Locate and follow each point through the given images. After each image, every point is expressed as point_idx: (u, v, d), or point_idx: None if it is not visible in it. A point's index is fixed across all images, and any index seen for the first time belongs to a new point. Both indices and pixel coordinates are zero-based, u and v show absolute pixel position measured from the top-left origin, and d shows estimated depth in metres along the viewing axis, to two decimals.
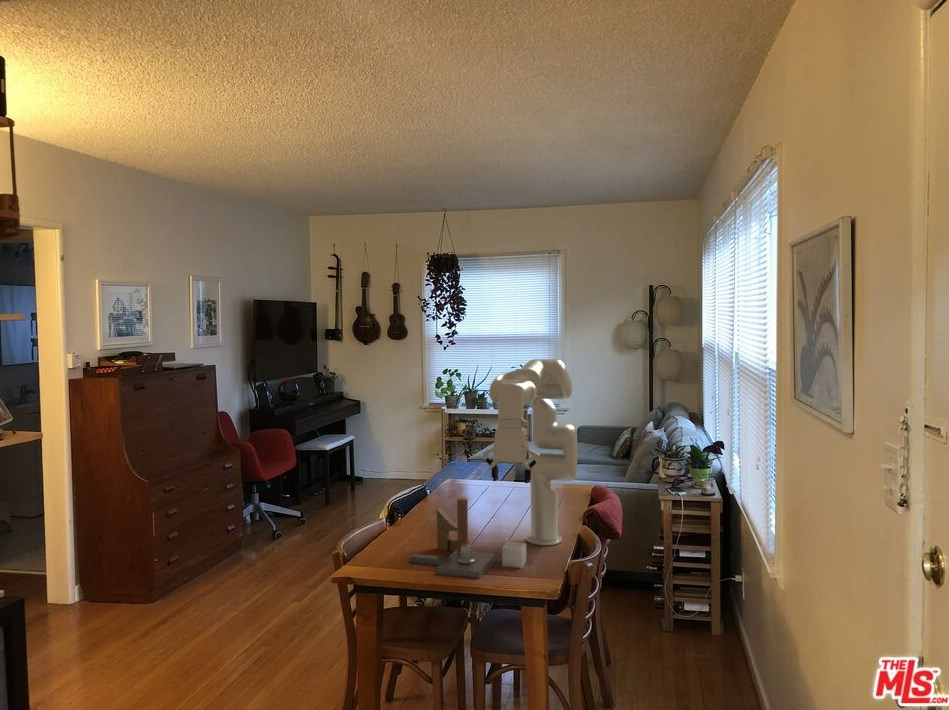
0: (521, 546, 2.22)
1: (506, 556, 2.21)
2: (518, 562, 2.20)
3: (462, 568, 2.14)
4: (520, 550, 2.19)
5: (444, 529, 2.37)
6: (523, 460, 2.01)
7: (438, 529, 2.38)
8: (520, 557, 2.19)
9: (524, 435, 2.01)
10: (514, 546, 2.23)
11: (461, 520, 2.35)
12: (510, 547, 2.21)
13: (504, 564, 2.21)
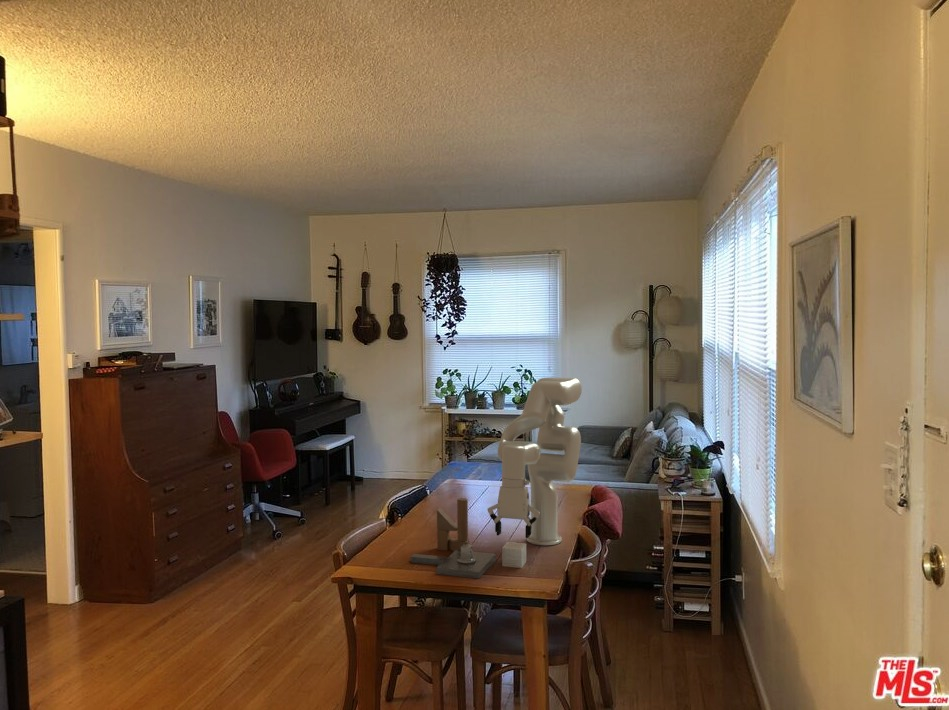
0: (521, 546, 2.22)
1: (506, 556, 2.21)
2: (518, 562, 2.20)
3: (462, 568, 2.14)
4: (520, 550, 2.19)
5: (444, 529, 2.37)
6: (524, 517, 2.19)
7: (438, 529, 2.38)
8: (520, 557, 2.19)
9: (525, 494, 2.20)
10: (514, 546, 2.23)
11: (461, 520, 2.35)
12: (510, 547, 2.21)
13: (504, 564, 2.21)
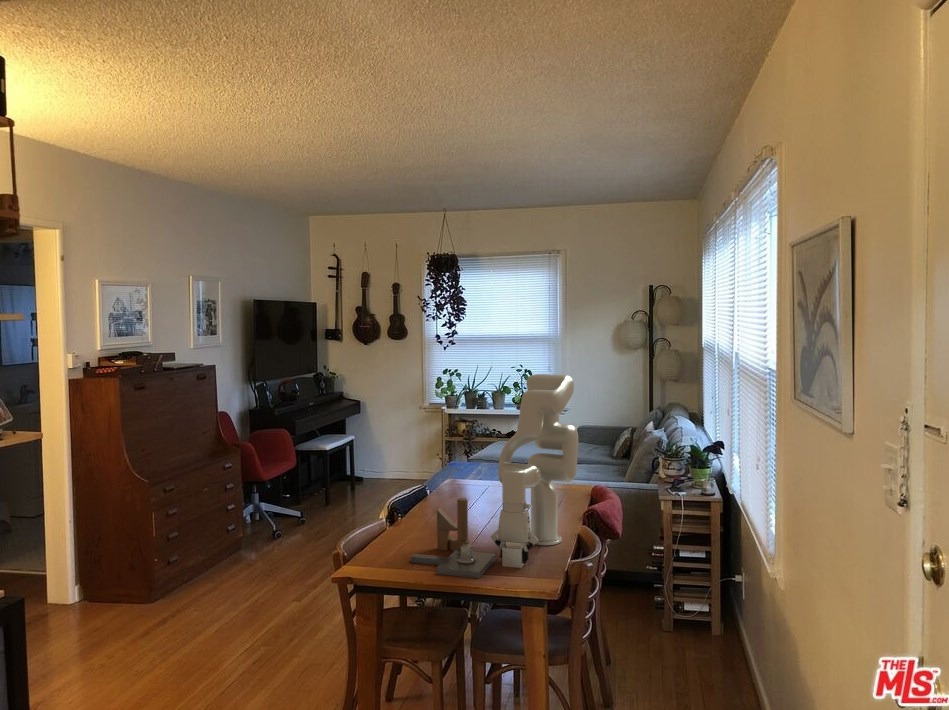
0: (521, 546, 2.22)
1: (506, 556, 2.21)
2: (518, 562, 2.20)
3: (462, 568, 2.14)
4: (520, 550, 2.19)
5: (444, 529, 2.37)
6: (525, 541, 2.20)
7: (438, 529, 2.38)
8: (520, 557, 2.19)
9: (526, 518, 2.20)
10: (514, 546, 2.23)
11: (461, 520, 2.35)
12: (510, 547, 2.21)
13: (504, 564, 2.21)
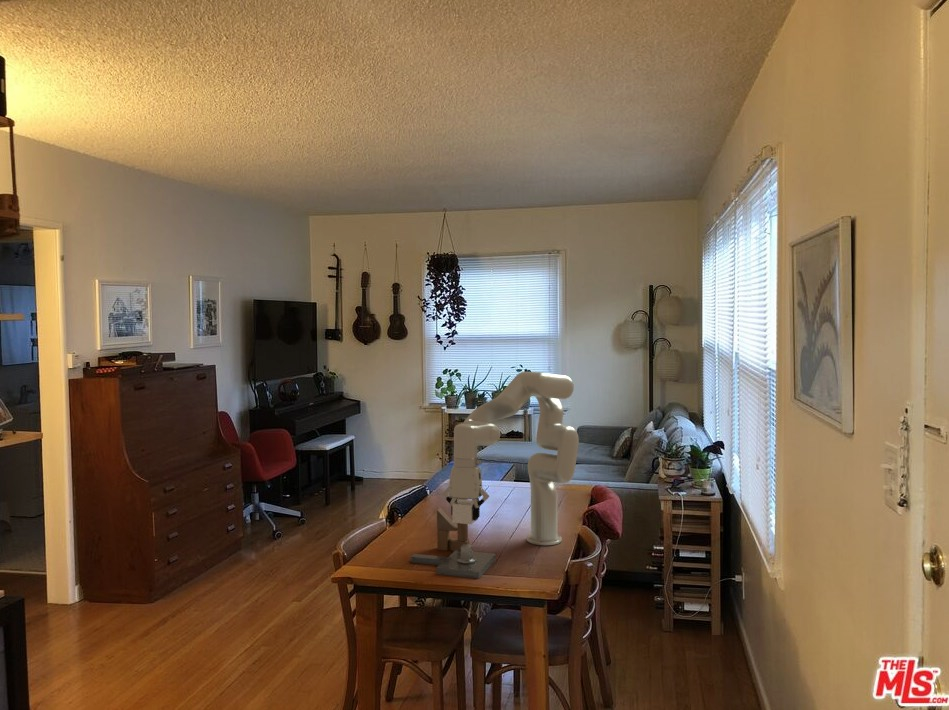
0: (472, 503, 2.19)
1: (457, 512, 2.17)
2: (468, 518, 2.16)
3: (462, 568, 2.14)
4: (470, 506, 2.16)
5: (444, 529, 2.37)
6: (476, 497, 2.17)
7: (438, 529, 2.38)
8: (470, 513, 2.16)
9: (477, 474, 2.17)
10: (465, 502, 2.19)
11: None
12: (460, 503, 2.18)
13: (454, 520, 2.18)
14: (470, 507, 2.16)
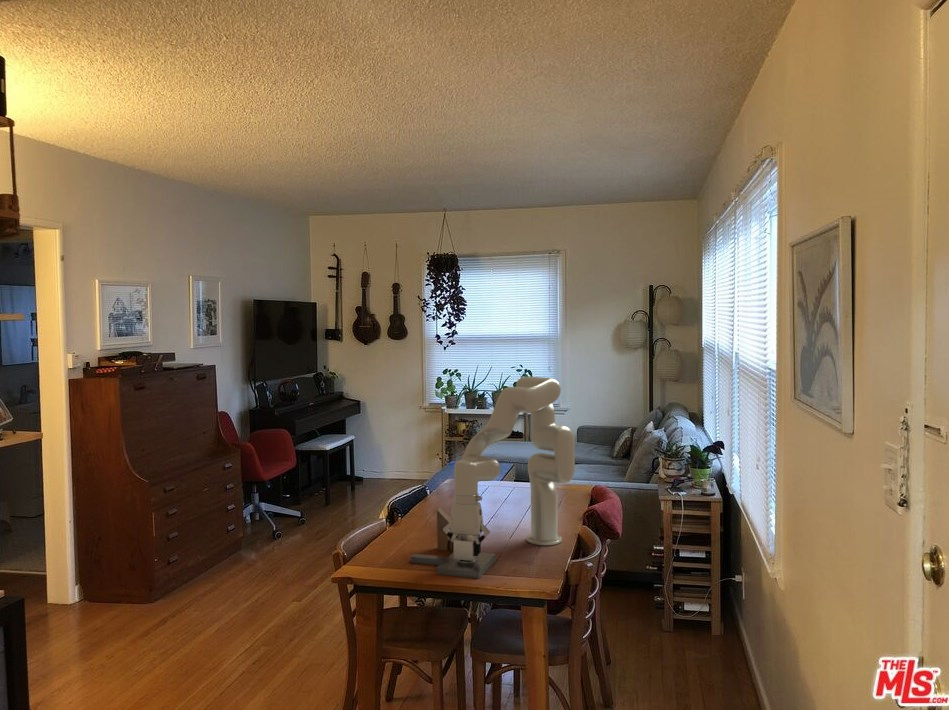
0: (473, 539, 2.20)
1: (458, 548, 2.18)
2: (469, 555, 2.17)
3: (462, 568, 2.14)
4: (471, 543, 2.17)
5: None
6: (477, 533, 2.17)
7: (438, 529, 2.38)
8: (471, 550, 2.17)
9: (478, 510, 2.18)
10: (466, 538, 2.20)
11: None
12: (461, 540, 2.19)
13: (455, 557, 2.18)
14: (471, 544, 2.17)
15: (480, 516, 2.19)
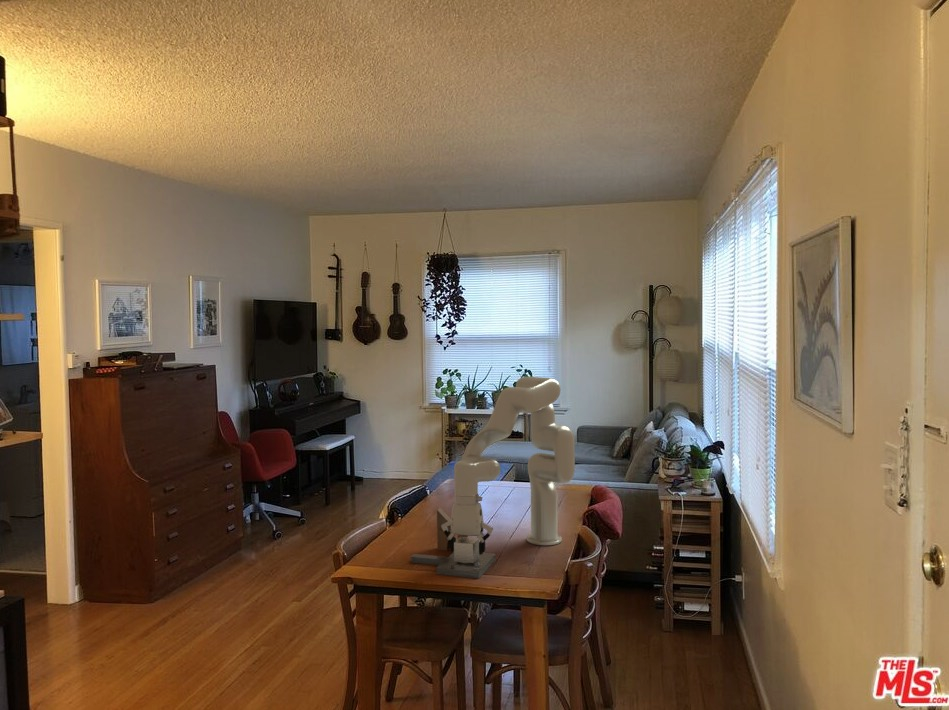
0: (473, 541, 2.20)
1: (458, 551, 2.18)
2: (470, 557, 2.17)
3: (462, 568, 2.14)
4: (472, 545, 2.17)
5: None
6: (477, 534, 2.18)
7: (438, 529, 2.38)
8: (472, 552, 2.17)
9: (478, 510, 2.18)
10: (466, 540, 2.20)
11: None
12: (462, 542, 2.19)
13: (456, 559, 2.19)
14: (471, 546, 2.17)
15: (480, 516, 2.19)
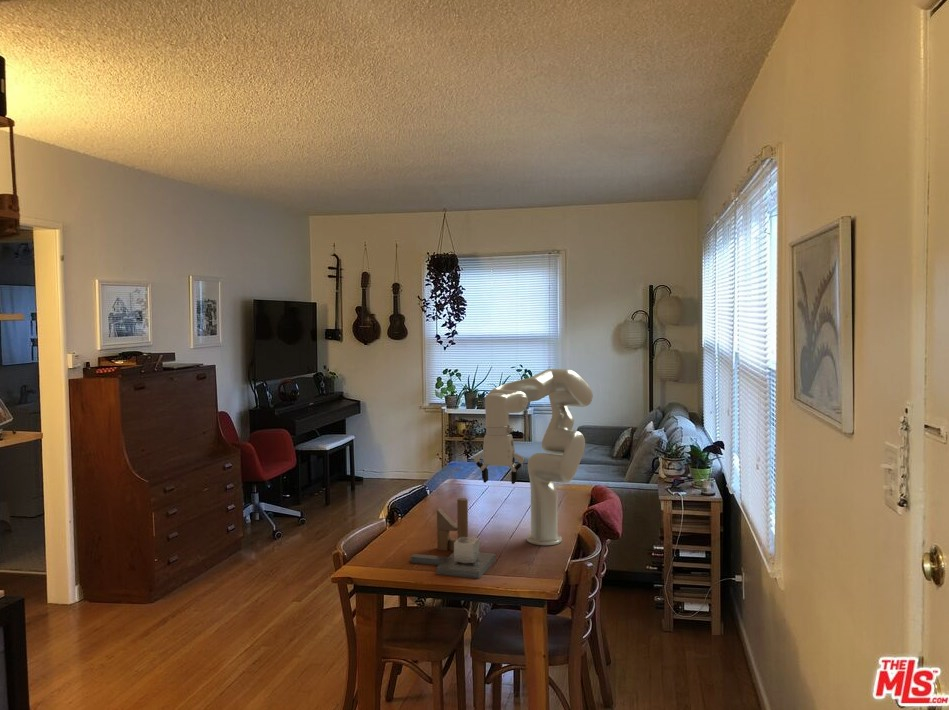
0: (473, 541, 2.20)
1: (458, 551, 2.18)
2: (470, 557, 2.17)
3: (462, 568, 2.14)
4: (472, 545, 2.17)
5: (444, 529, 2.37)
6: (509, 463, 2.22)
7: (438, 529, 2.38)
8: (472, 552, 2.17)
9: (510, 441, 2.22)
10: (466, 540, 2.20)
11: (461, 520, 2.35)
12: (462, 542, 2.19)
13: (456, 559, 2.19)
14: (471, 546, 2.17)
15: (512, 447, 2.23)
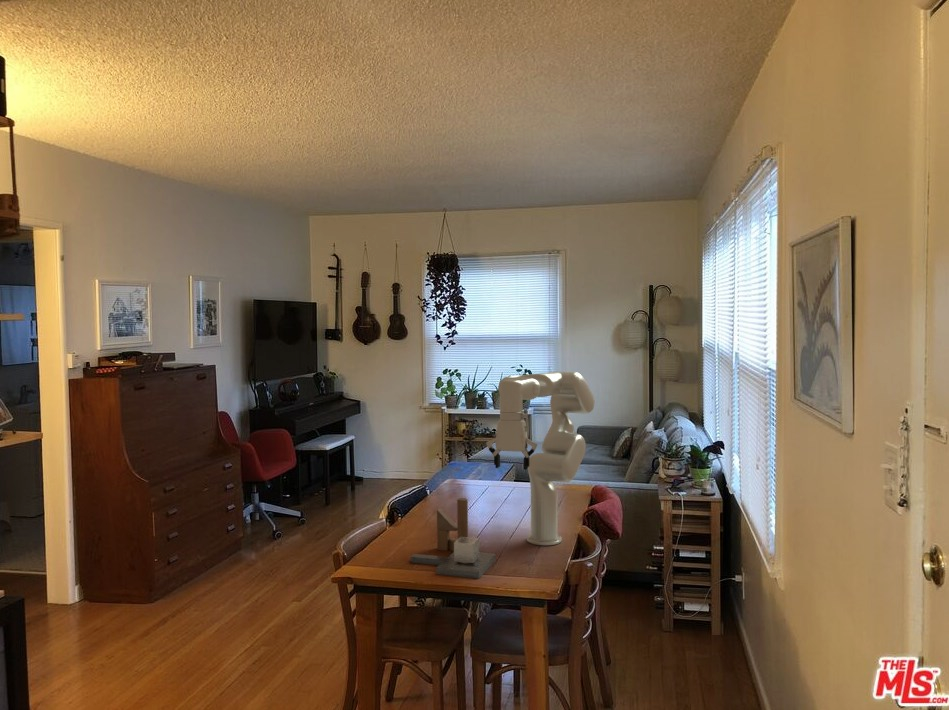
0: (473, 541, 2.20)
1: (458, 551, 2.18)
2: (470, 557, 2.17)
3: (462, 568, 2.14)
4: (472, 545, 2.17)
5: (444, 529, 2.37)
6: (522, 449, 2.24)
7: (438, 529, 2.38)
8: (472, 552, 2.17)
9: (523, 426, 2.25)
10: (466, 540, 2.20)
11: (461, 520, 2.35)
12: (462, 542, 2.19)
13: (456, 559, 2.19)
14: (471, 546, 2.17)
15: (525, 433, 2.25)
